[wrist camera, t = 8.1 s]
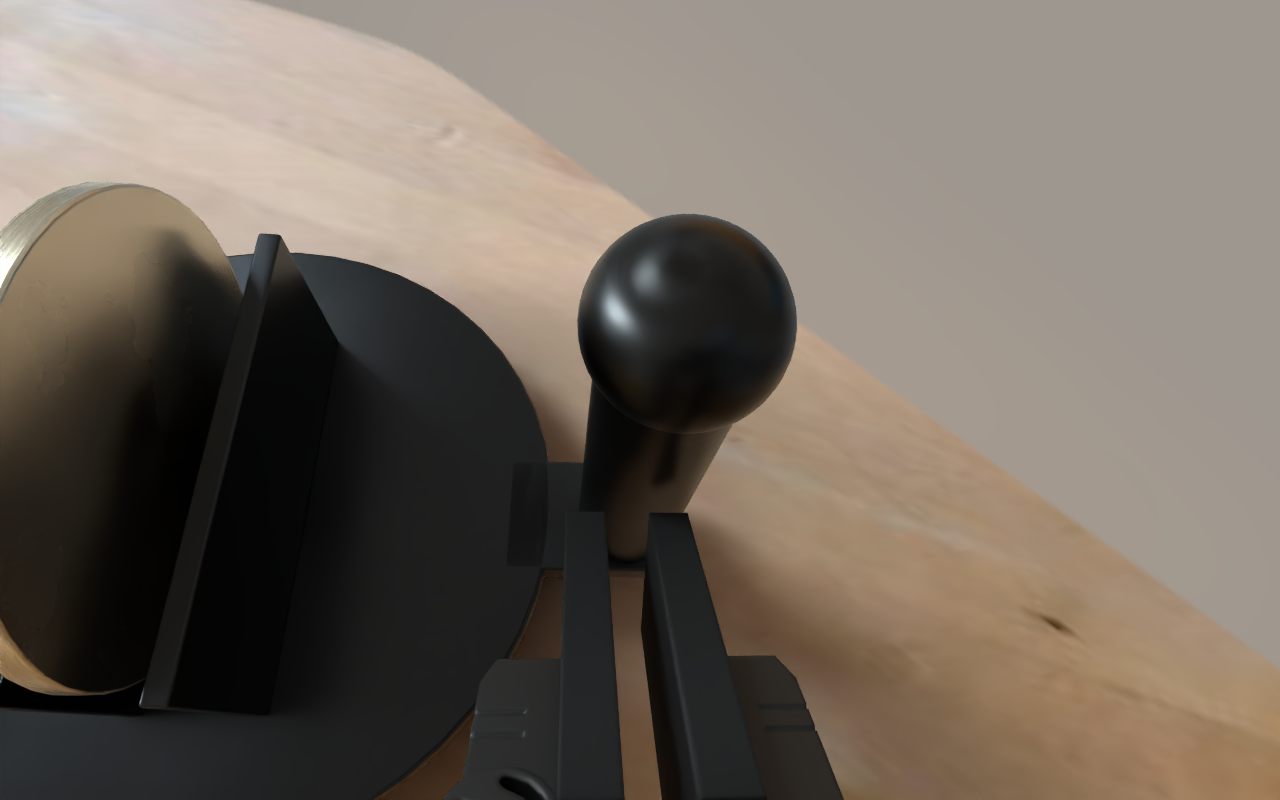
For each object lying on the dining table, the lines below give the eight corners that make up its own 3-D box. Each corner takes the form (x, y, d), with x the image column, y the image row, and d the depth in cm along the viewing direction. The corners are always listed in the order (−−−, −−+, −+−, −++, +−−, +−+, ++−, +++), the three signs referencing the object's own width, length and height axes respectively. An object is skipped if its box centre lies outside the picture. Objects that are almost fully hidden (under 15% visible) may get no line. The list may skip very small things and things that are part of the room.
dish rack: (671, 289, 25) (776, -113, 13) (688, 850, 18) (932, 1054, 6) (37, 256, 23) (-506, -250, 11) (-210, 871, 16) (-2223, 1214, 4)
